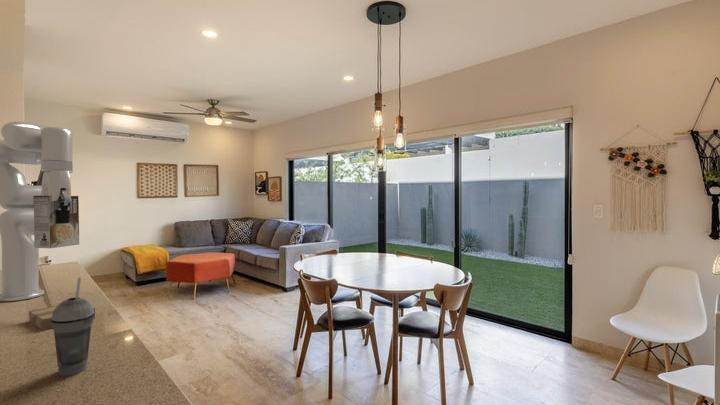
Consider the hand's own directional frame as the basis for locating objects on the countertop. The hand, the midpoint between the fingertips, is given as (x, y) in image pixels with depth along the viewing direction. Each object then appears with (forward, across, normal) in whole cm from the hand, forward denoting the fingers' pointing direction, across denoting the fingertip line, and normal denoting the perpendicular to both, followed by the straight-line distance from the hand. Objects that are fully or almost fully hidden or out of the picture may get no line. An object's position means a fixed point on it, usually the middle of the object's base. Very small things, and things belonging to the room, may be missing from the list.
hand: (57, 222), depth 110 cm
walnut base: (+29, +9, -1) cm, 30 cm away
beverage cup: (+30, +48, -12) cm, 57 cm away
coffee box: (+8, 0, 0) cm, 8 cm away
